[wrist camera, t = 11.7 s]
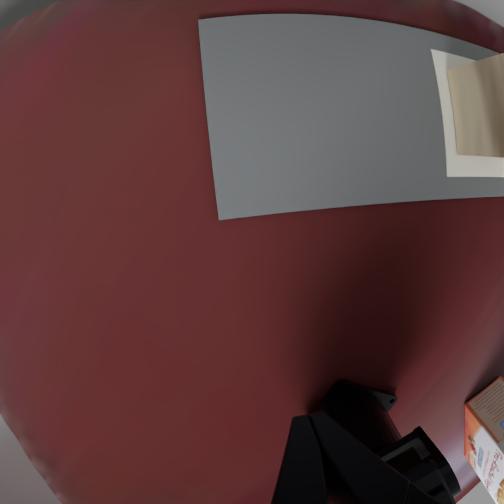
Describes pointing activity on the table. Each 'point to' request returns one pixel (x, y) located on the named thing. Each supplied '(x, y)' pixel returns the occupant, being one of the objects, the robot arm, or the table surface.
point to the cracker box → (487, 437)
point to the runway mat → (334, 114)
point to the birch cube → (479, 106)
